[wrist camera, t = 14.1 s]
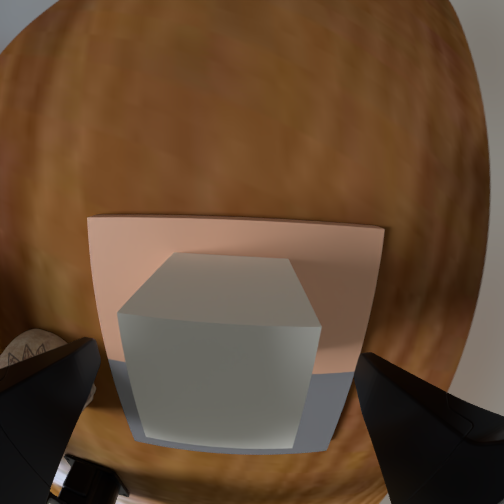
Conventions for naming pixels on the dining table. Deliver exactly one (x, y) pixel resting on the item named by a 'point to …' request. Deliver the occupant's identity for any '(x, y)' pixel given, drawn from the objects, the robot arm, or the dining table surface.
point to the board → (252, 245)
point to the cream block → (220, 351)
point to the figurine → (33, 349)
